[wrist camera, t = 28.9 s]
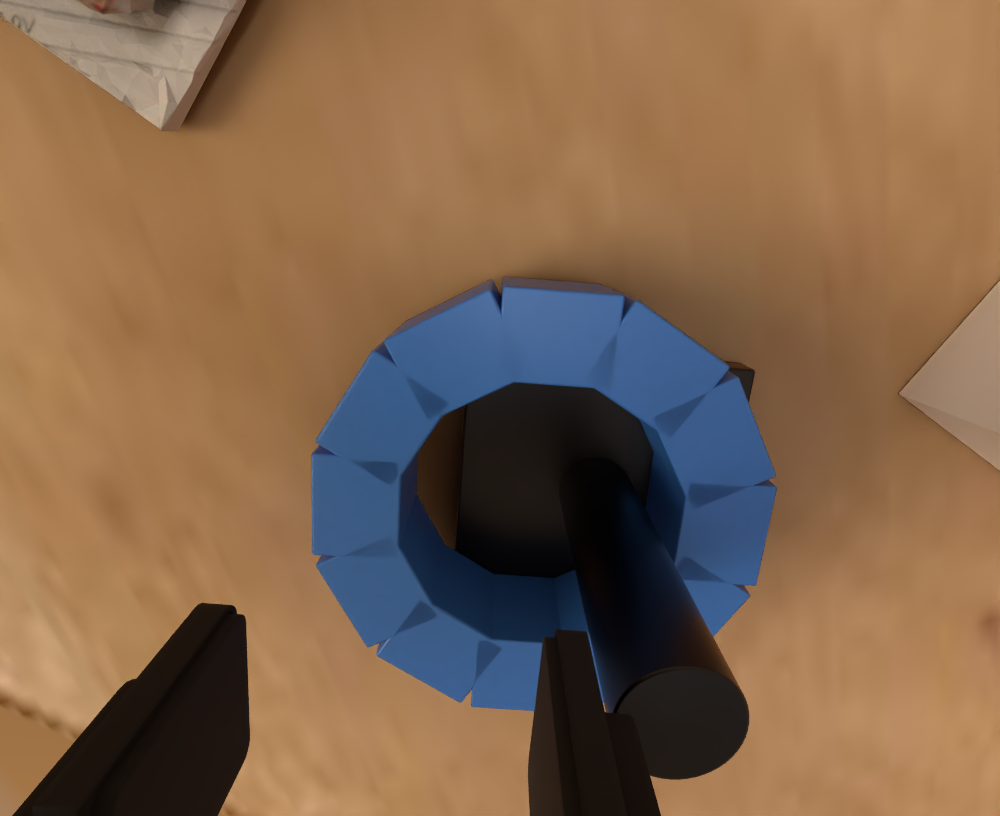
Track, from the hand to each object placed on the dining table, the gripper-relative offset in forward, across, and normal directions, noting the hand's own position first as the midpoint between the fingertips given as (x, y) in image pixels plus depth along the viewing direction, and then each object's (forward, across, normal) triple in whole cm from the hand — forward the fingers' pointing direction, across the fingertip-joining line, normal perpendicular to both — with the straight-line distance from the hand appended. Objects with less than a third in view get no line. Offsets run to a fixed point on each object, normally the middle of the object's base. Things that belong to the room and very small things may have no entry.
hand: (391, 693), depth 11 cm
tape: (+10, -3, 0) cm, 10 cm away
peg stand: (+11, -5, 0) cm, 12 cm away
